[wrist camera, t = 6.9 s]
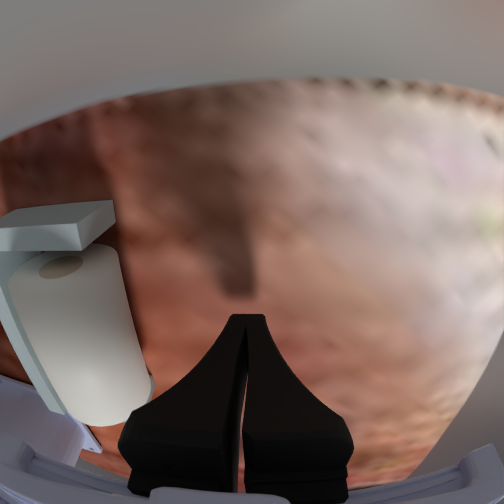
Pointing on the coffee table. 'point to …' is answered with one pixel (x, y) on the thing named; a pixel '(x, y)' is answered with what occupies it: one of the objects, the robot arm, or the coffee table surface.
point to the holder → (30, 245)
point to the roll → (83, 332)
